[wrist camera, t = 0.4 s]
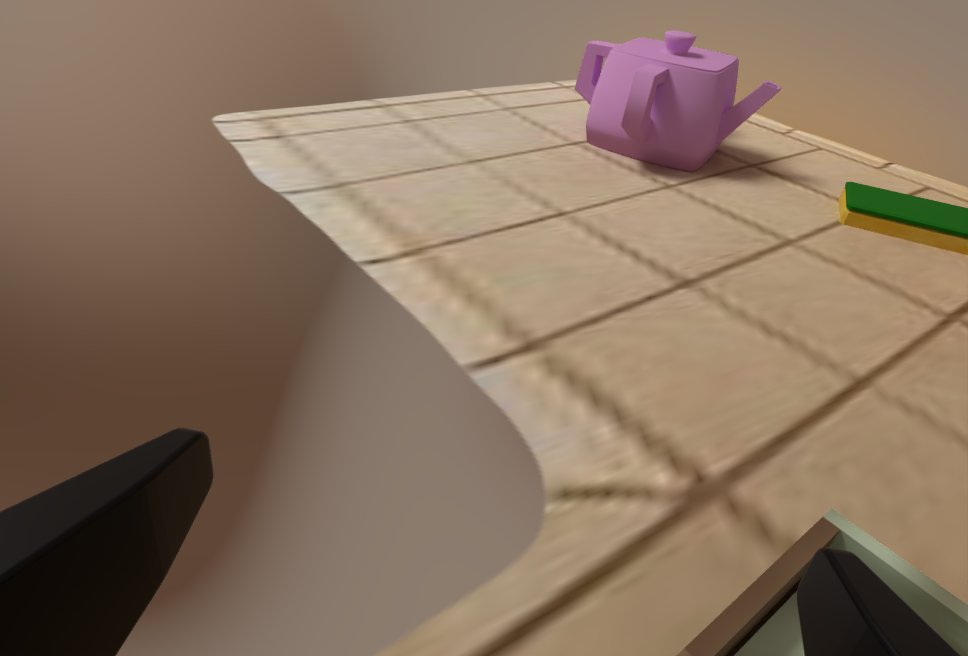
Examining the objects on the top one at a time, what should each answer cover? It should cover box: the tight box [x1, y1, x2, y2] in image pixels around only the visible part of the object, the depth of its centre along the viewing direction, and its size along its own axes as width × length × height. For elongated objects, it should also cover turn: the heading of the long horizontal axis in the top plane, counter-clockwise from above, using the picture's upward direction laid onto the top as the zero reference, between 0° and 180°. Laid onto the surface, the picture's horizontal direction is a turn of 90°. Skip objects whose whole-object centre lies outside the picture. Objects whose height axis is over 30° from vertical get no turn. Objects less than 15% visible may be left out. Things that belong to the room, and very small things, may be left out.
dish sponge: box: [839, 182, 968, 255], centre depth 61 cm, size 7×14×2 cm, turn 65°
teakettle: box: [575, 31, 782, 172], centre depth 71 cm, size 17×17×12 cm
